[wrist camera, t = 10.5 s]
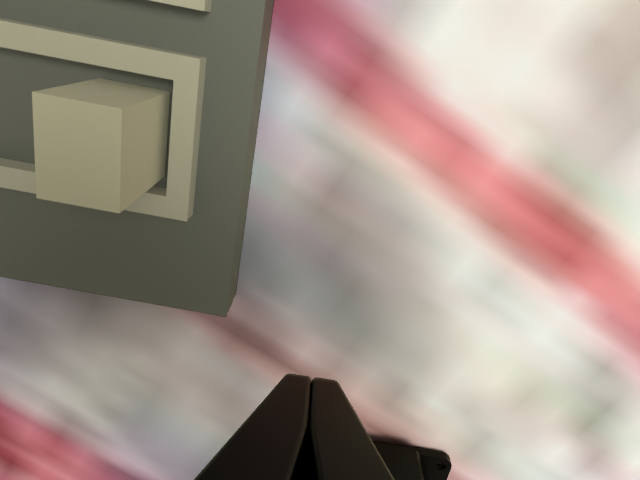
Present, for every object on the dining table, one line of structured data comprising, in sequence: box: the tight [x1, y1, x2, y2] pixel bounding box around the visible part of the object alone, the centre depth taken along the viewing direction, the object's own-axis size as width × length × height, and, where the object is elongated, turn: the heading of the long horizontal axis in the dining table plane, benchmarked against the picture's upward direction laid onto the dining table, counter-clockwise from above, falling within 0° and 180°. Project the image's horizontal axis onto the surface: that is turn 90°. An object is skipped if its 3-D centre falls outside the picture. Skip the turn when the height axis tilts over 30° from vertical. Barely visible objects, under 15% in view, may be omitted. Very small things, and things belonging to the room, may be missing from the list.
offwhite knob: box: [32, 78, 170, 213], centre depth 16 cm, size 3×2×4 cm
